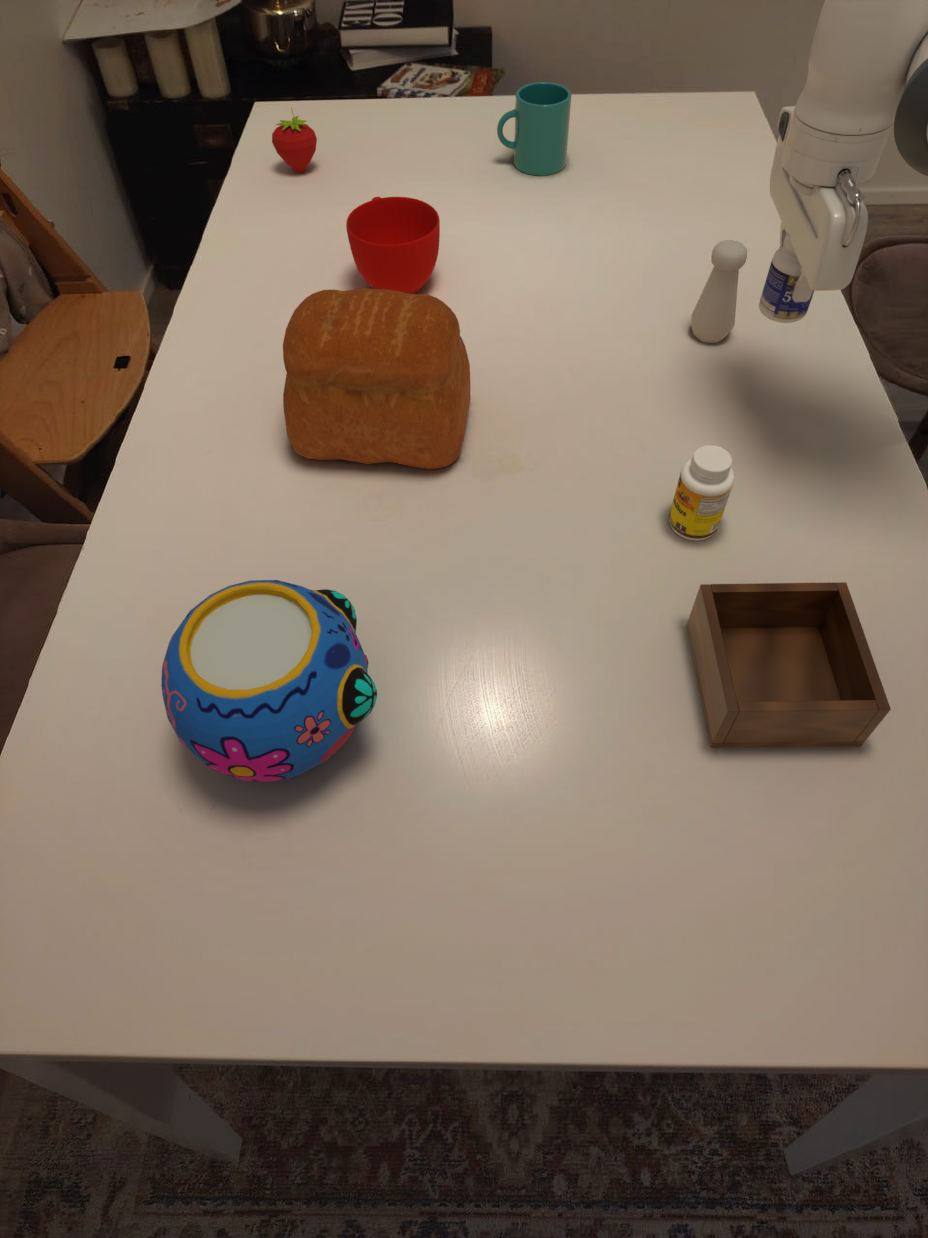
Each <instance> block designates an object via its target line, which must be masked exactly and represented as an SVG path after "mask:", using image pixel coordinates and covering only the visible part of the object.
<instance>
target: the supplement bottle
mask: <svg viewBox="0 0 928 1238" xmlns="http://www.w3.org/2000/svg"><path fill="white" fill-rule="evenodd" d="M732 464H733V458H732V455H731V454H730V452H728V450H726V449H724V448H723V447H721V446H718V445H712V444H710V445H709V444H707V445H702V446H700V447H698V448H697V449H696V450H695V451H694V453H693V454H692V458H690V459H688V460H687V461H685V463H684V464H683V465H682V468H681V470H680V473H679V477H678V480H677V484H676V489H675V492H674V496H673V500H672V504H671V507H670V511H669V515H668V522H669V523H668V524H669V526H670V528H671V530H672V531H673V532H674V533H675V534H676V535H678V536H679V537H681V538H683V539H686V540H689V541H698V542H699V541H705V540H707V539H709V538H711V537H713V536H714V535H715V534H716V532H717V531H718V530H719V526H720V524H721V521H722V518H723V515H724V513H725V510H726V507H727V505H728V504H727V503H728V501H729V498H730V495H731V492H732V490H733V486H734V484H735V473H734V469H732Z"/></svg>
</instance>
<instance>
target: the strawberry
mask: <svg viewBox="0 0 928 1238" xmlns="http://www.w3.org/2000/svg"><path fill="white" fill-rule="evenodd" d="M290 109H291V114H292V115H293V117H292V118H291V120H284V119H281V120H279V123H276V124H275V126H277V127H275V129H274V130H273V132H272V133H271V143H272V146H273V147H274V149H275V151H276V154H277V155H278V156H279V157H280V158H281V159H282V160H283V161H284V162H285V164H287V165H288V166H289V167H290V168H291V169H292V170H293V171H294V172H295V173H297V174H303V173H304V172H305V171H306V169H307V167H309V165H310V163H311V162H312V159H313V157H314V155H315V153H316V151H317V142H318V139H317V135H316V132H315V130H314V129H313V128H311V127H310V126H309V125H308V124H307V123H306V122H307V120H304V119H299V117H300V115H296V116H295V114H294V111H293V108H292V107H290Z"/></svg>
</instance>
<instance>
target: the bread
mask: <svg viewBox="0 0 928 1238" xmlns="http://www.w3.org/2000/svg"><path fill="white" fill-rule="evenodd" d="M460 328H461V327H460V323H459V320H458V318H457V315H456V314H455V312H454V311H453V310H452V308H451V307H450V306H448V304H446V303H445V302H444V301H443V300H441V299H439V298H438V297H436V296H433V295H430V294H423V293H422V294H418V293H415V294H409V293H404V292H399V291H394V290H387V289H374V288H368V287H367V288H366V287H365V288H355V289H348V290H341V289H323V290H318V291H316V292H314V293H311V294H310V295H308V296H307V297H305V298H304V299H303V300H302V301H301V302H300V303H299V305H298V306H296V308H295V309H294V311H293V312H292V315H291V316H290V319H289V321H288V323H287V326H286V328H285V331H284V335H283V336H284V337H283V341H282V357H283V365H284V369H285V371H286V375H285V381H284V386H283V394H282V402H283V403H282V404H283V405H282V406H283V413H284V421H285V429H286V436H287V438H288V441H289V442H290V444H291V447H292V448H293V451H294V452H295V453H296V454H298V455H299V456H301V457H303V458H305V459H307V460H317V461H334V460H335V461H336V460H343V461H349V462H353V463H354V462H355V463H358V464H359V463H360V464H366V465H372V464H381V463H389V462H390V463H394V464H399V465H402V466H403V465H404V466H407V467H412V468H417V469H424V470H434V469H436V470H437V469H441V468H445V467H448V466H450V465H452V464H453V463H455V462H456V460H457V459H458V458H459V456H460V454H461V450H462V448H463V444H464V439H465V438H464V437H465V433H466V428H467V423H468V415H469V409H470V404H471V387H472V386H471V367H470V366H471V365H470V360H469V356H468V352H467V348H466V345H465V342H464V340H463V338H462V336H461V329H460Z"/></svg>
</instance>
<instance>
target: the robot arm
mask: <svg viewBox="0 0 928 1238" xmlns="http://www.w3.org/2000/svg"><path fill="white" fill-rule="evenodd" d="M819 14H820V15H819V18H818V21H817V25H816V28H815V31H814V34H813V37H812V41H811V45H810V49H809V54H808V59H807V62H808V63H807V66H808V68H807V69H808V70H807V78H806V81H805V83H804V87H803V88H802V89H803V90H802V91H801V93H800V94H799V97H798V99H797V100H796V103H795V105H790V106H783V107H782V108H781V110H780V111H779V116H778V119H777V123H776V124H777V125H776V128H777V132H778V134H779V136H778V137H777V141H776V145H775V146H776V147H775V151H774V155H773V159H772V164H771V165H772V166H771V170H770V176H769V196H770V198H771V200H772V202H773V205H774V207H775V209H776V212H777V214H778V217H779V219H780V221H781V222H780V228H779V229H780V231H779V247H778V249H779V248H780V247H782V246H783V243H784V240H785V237H786V233H787V232H788V234H789V236H790V240H791V245H792V247H793V249H794V252H795V254H796V256H797V259H798V261H799V263H800V266H801V268H800V272H801V275H800V277H799V278H798V279H794V281H793V284H792V288H791V291H790V292H791V295H792V298H793V301H795V302H807V301H808V300H810V298H811V295H812V292H813V290H814V292H815V291H817V292H830V291H831V292H833V291H841V290H844V289H845V288H847V286H849V285H850V284H851V282H852V280H853V277H854V275H855V271H856V269H857V265H858V263H859V259H860V256H861V252H862V249H863V245H864V242H865V238H866V234H867V230H868V223H869V213H868V209H867V206H866V204H865V202H864V201H863V200H864V199H863V193H862V191H861V189H860V188H859V187H858V185H861V184H862V183H863V184H864V183H865V182H867V181H868V180H870V179H872V178H873V176H874V175H875V174H876V171H877V169H878V166H879V164H880V160H881V157H882V155H883V152H884V149H885V146H886V144H887V141H888V138H889V135H890V132H891V130H892V127H893V138H894V142H895V145H896V148H897V151H898V153H899V154H900V156H901V158H902V159H903V161H904V162H905V163H906V164H907V165H908V166H909V167H910V168H912V169H913V170H914V171H915V172H918V173H919V174H922V175H923V176H926V177H928V0H824V2H823V5H822V8H821V12H820V13H819Z"/></svg>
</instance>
